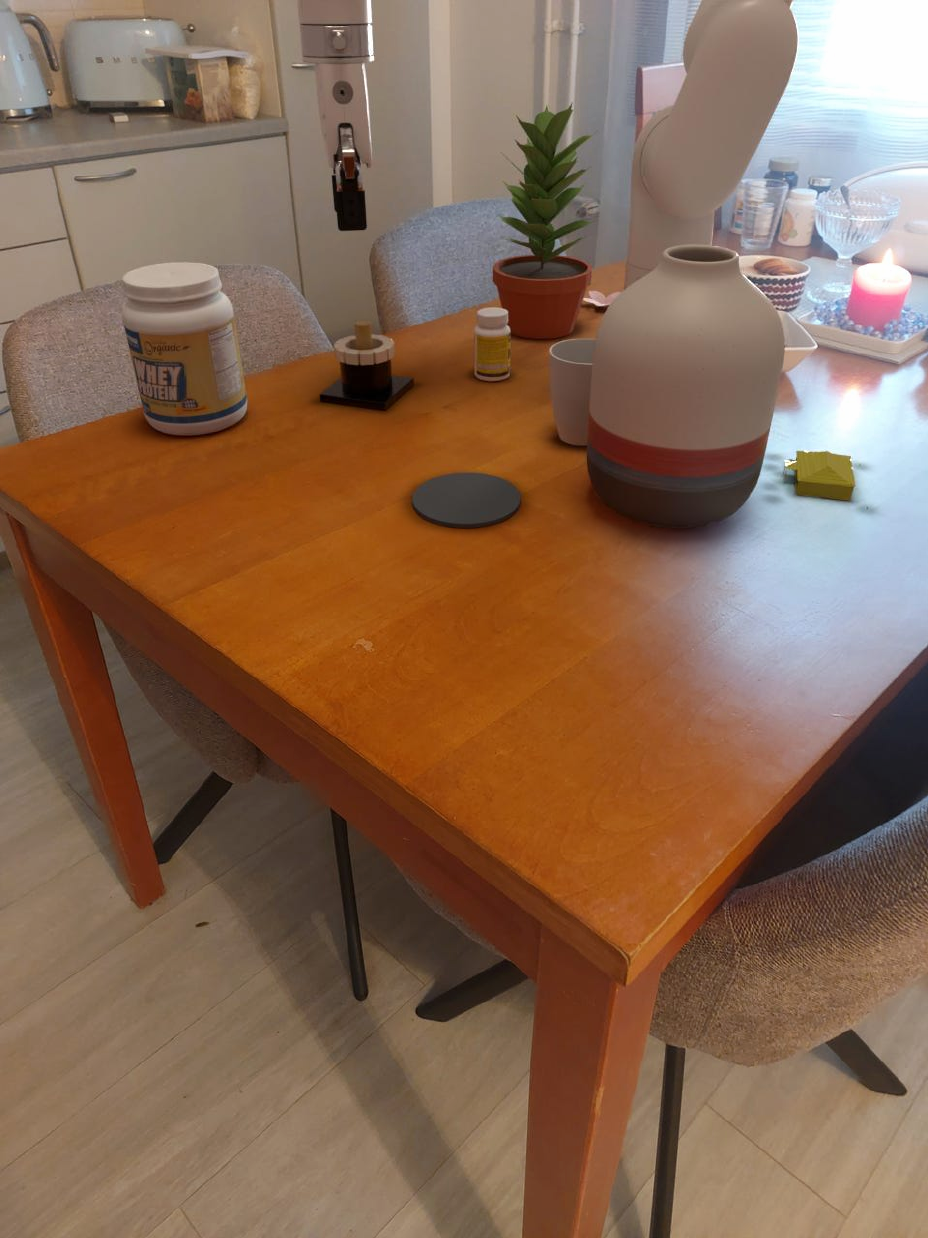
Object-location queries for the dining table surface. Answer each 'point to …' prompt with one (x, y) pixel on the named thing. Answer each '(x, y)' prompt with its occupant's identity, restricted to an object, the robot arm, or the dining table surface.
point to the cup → (571, 388)
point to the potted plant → (544, 237)
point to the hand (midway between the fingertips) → (350, 220)
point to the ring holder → (366, 379)
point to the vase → (684, 391)
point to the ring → (364, 351)
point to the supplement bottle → (492, 344)
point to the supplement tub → (184, 348)
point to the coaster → (466, 500)
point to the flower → (601, 298)
